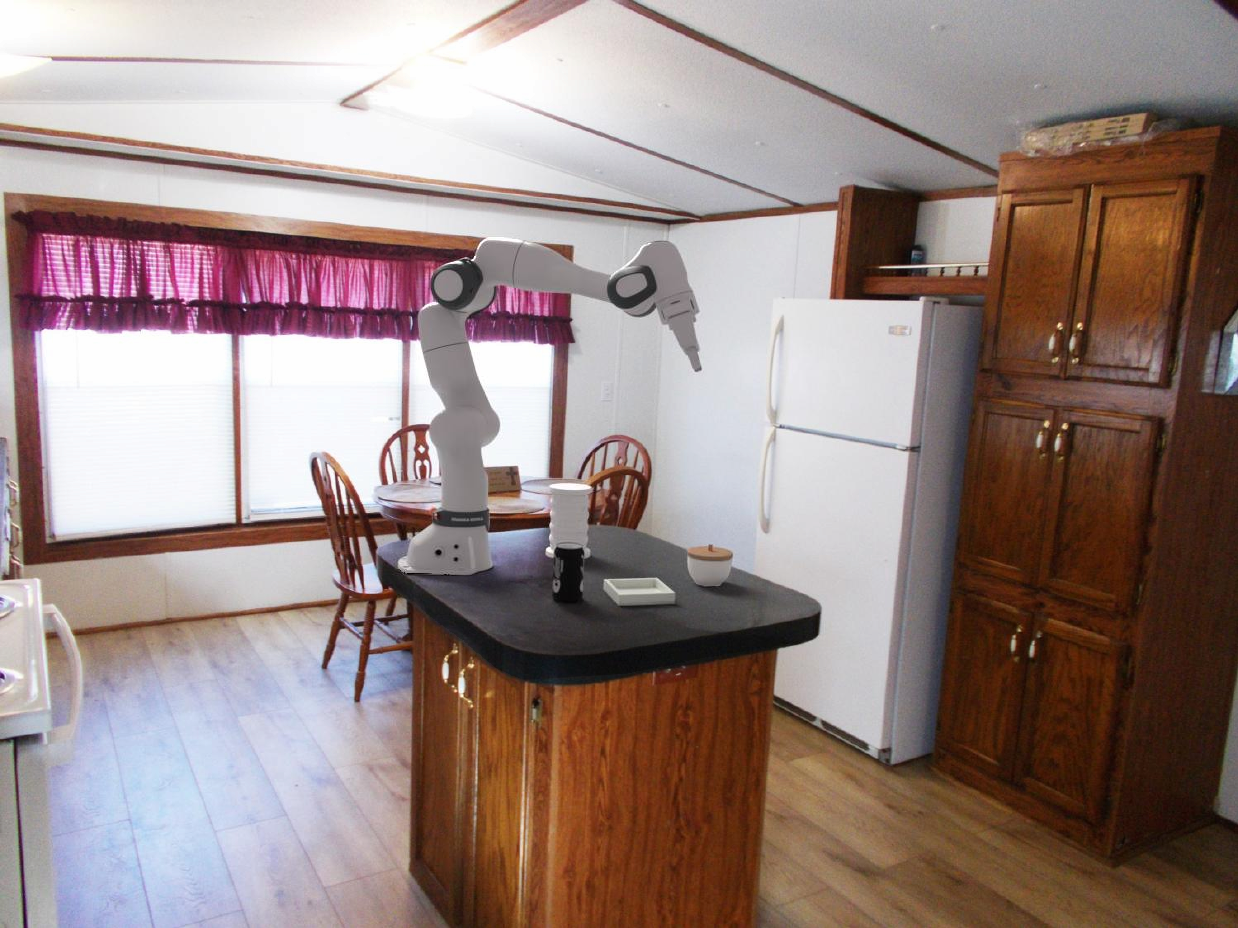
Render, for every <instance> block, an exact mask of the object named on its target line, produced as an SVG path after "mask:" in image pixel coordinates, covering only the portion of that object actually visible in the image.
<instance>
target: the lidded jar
mask: <svg viewBox="0 0 1238 928" xmlns="http://www.w3.org/2000/svg"><path fill="white" fill-rule="evenodd" d="M713 544H714V543H713ZM713 544H712V543H708V544H707V545H701V546H700V545H699V546H692V547H689V548H688V549H687V550H686V555H687V556H686V557H687V562H686V563H687V570H688V574H689V575H690V577H691V578H692V579H693V580H694V583H695V585H698V586H702V587H707V586H716V587H720V586H721V585H722V583H723V582H725V581H726V580H727V579H728V578H729V575H730V573H731V570H732V565H733V564H732V563H733V558H734V553H733V551H731V550H730V549H727V548H724V547H717V546H714V545H713Z"/></svg>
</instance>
